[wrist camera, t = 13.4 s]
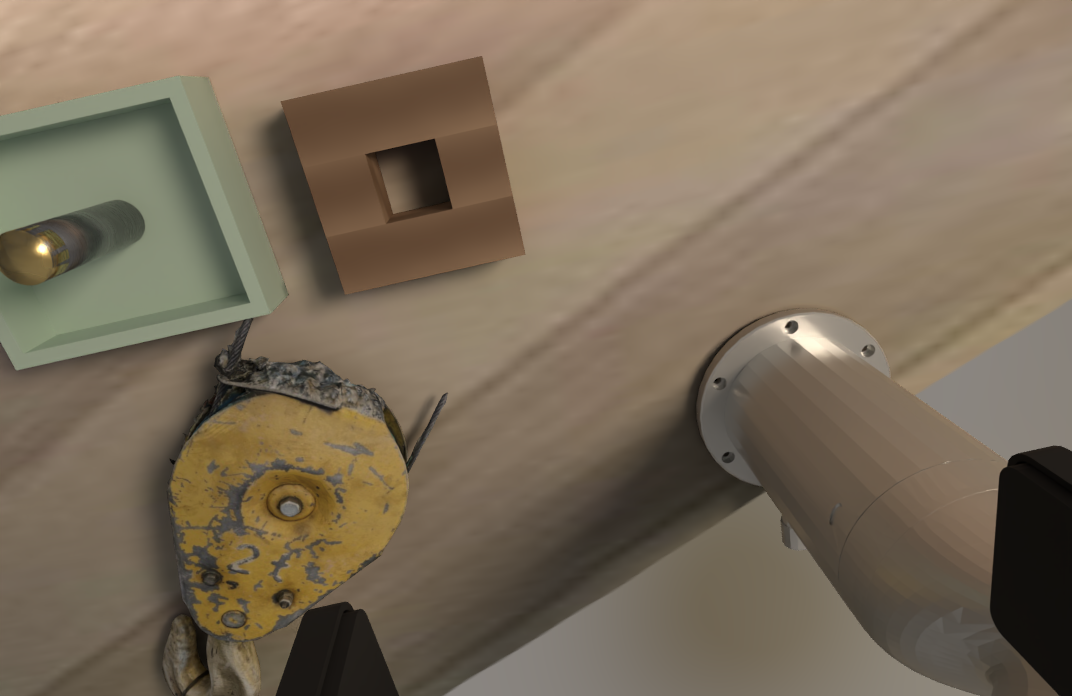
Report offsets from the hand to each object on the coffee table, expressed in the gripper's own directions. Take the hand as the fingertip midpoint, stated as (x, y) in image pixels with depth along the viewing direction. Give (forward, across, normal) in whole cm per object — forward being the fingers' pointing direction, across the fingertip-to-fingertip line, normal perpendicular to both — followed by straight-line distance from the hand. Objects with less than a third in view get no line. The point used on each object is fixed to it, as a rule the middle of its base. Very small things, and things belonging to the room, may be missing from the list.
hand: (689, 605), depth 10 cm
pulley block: (+31, +22, +16) cm, 41 cm away
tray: (+30, +22, -5) cm, 38 cm away
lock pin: (+30, +22, -5) cm, 37 cm away
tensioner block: (+30, +6, -4) cm, 31 cm away
